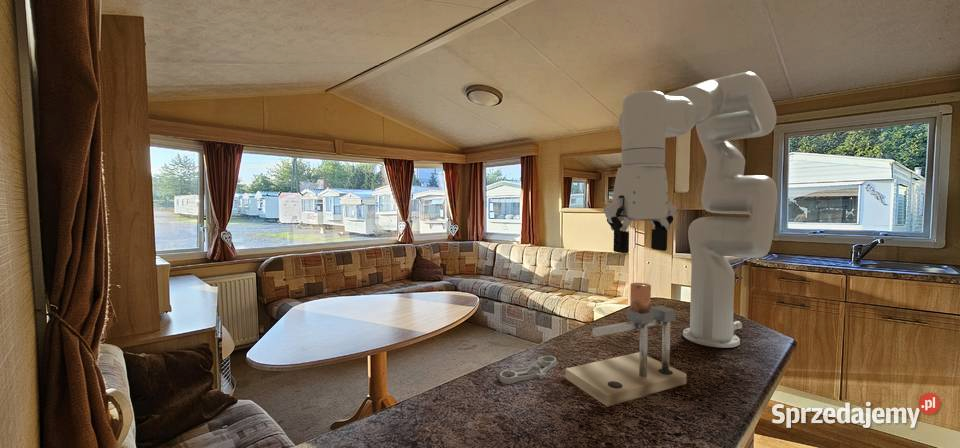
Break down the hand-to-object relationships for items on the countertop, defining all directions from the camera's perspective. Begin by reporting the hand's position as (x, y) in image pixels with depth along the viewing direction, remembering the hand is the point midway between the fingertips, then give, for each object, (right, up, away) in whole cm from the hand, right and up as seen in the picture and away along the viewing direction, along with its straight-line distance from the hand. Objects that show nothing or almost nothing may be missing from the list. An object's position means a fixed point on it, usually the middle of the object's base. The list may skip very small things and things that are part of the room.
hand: (640, 251), depth 74 cm
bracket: (-20, -27, +8) cm, 34 cm away
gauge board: (-1, -26, +4) cm, 27 cm away
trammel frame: (-1, -24, +1) cm, 24 cm away
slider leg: (0, -24, +2) cm, 24 cm away
